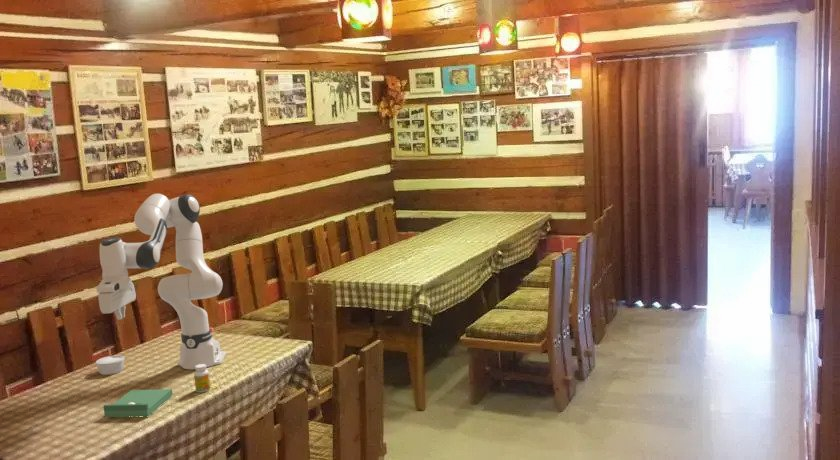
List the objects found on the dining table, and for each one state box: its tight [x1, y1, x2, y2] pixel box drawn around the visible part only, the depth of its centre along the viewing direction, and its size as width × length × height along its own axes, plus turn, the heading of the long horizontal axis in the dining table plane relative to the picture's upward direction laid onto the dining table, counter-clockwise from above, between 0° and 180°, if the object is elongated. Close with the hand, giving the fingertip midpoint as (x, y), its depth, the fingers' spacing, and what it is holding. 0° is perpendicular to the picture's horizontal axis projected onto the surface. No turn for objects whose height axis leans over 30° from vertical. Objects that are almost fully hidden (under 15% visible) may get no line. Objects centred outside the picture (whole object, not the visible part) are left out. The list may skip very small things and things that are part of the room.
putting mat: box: [103, 388, 174, 419], centre depth 277 cm, size 20×16×4 cm
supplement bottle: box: [193, 364, 211, 393], centre depth 289 cm, size 5×5×10 cm
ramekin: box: [95, 355, 126, 376], centre depth 319 cm, size 11×11×5 cm
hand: (121, 318), depth 282 cm, fingers closed
